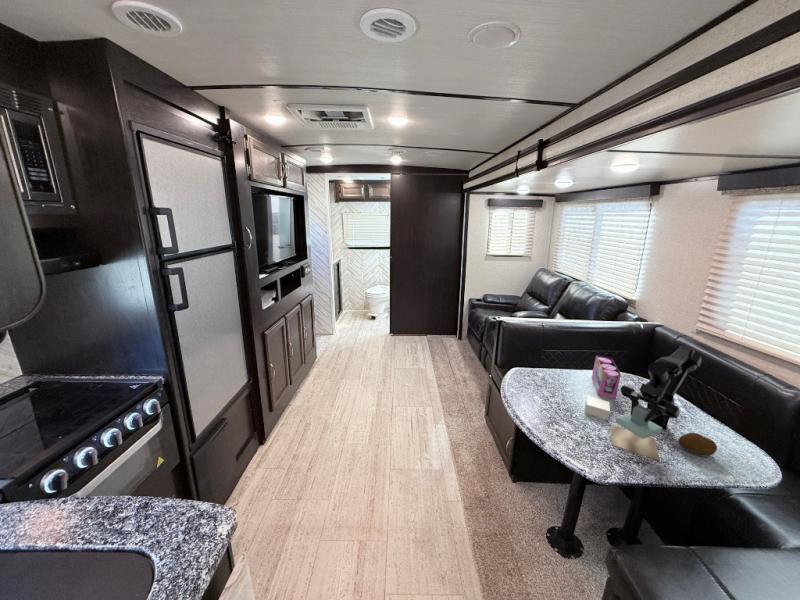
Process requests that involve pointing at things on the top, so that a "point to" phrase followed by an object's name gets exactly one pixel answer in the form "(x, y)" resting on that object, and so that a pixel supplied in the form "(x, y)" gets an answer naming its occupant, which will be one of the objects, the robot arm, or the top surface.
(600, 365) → the gum box
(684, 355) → the robot arm
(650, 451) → the cork mat
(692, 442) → the potato
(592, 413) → the box
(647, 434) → the lid
